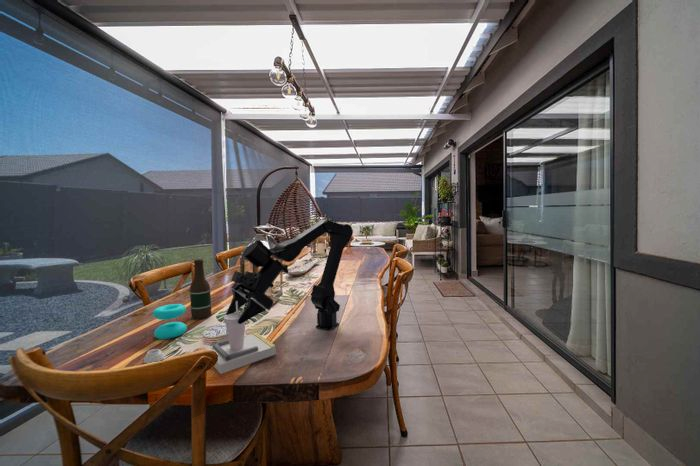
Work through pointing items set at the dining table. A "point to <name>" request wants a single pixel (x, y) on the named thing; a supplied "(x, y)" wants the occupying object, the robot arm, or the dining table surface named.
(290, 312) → the dining table surface
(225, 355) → the dock
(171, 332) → the donuts
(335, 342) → the dining table surface
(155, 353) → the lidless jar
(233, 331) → the smoothie
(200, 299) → the beer bottle
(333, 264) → the robot arm
